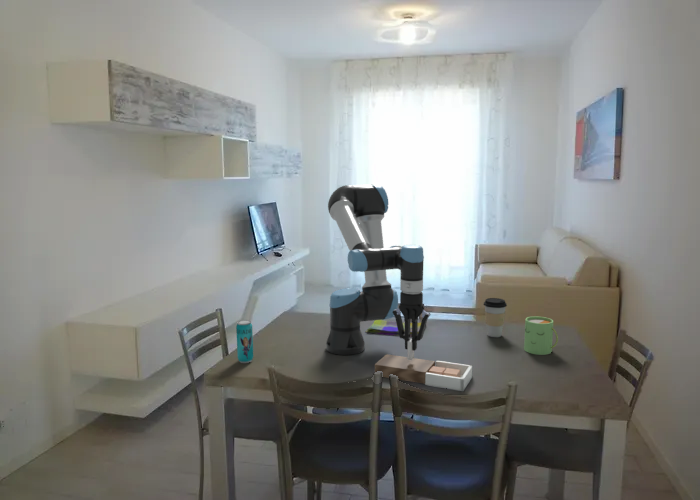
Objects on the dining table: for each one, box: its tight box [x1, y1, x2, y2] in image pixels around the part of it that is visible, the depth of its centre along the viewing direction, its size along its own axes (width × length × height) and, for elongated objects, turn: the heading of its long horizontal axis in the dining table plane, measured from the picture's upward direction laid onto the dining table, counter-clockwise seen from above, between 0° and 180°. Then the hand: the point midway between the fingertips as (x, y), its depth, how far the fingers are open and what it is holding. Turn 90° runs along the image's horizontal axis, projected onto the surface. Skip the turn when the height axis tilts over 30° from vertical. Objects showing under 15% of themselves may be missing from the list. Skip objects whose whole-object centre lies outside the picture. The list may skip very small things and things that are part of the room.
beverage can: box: [235, 319, 254, 364], centre depth 203 cm, size 6×6×15 cm
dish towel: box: [364, 319, 427, 338], centre depth 241 cm, size 18×24×3 cm
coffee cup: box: [483, 297, 508, 338], centre depth 230 cm, size 9×9×15 cm
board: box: [374, 353, 436, 385], centre depth 190 cm, size 18×11×4 cm, turn 65°
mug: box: [523, 315, 559, 356], centre depth 211 cm, size 13×10×12 cm
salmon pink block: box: [429, 365, 446, 375], centre depth 185 cm, size 4×4×3 cm
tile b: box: [443, 368, 460, 377], centre depth 183 cm, size 4×4×3 cm
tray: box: [424, 360, 474, 392], centre depth 183 cm, size 12×13×4 cm
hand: (410, 358), depth 189 cm, fingers closed
